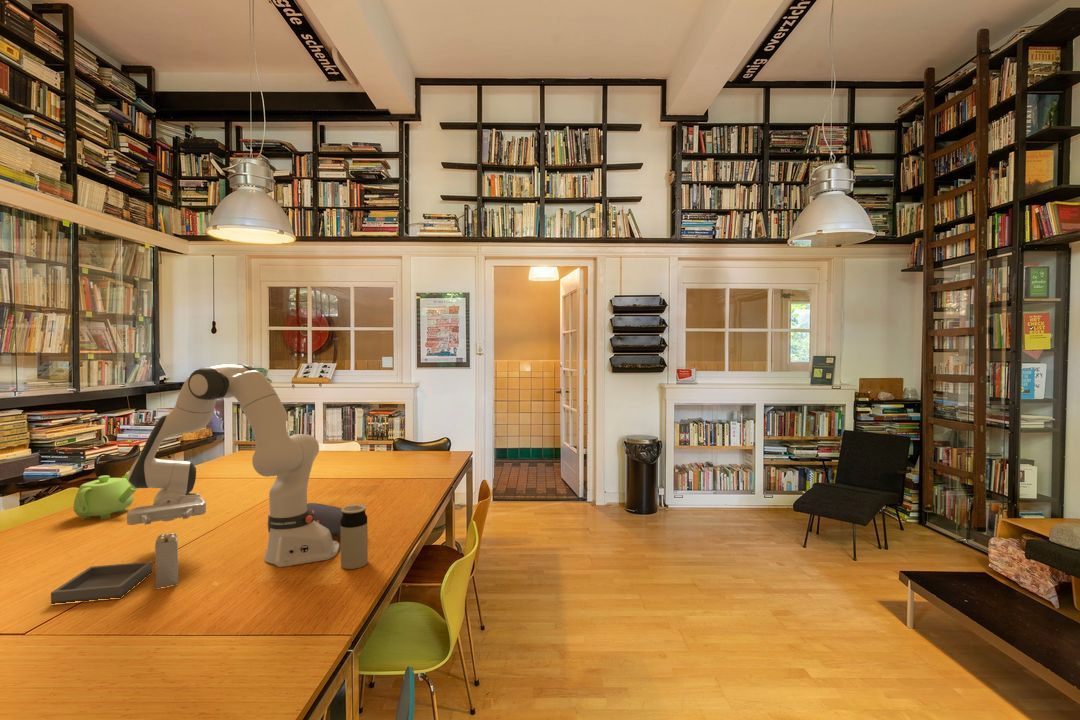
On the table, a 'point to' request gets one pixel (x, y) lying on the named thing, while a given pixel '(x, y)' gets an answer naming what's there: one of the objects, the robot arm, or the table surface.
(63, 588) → the charcoal bin
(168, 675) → the table surface
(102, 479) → the teapot
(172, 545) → the ball-topped square pillar
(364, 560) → the travel mug
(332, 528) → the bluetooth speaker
